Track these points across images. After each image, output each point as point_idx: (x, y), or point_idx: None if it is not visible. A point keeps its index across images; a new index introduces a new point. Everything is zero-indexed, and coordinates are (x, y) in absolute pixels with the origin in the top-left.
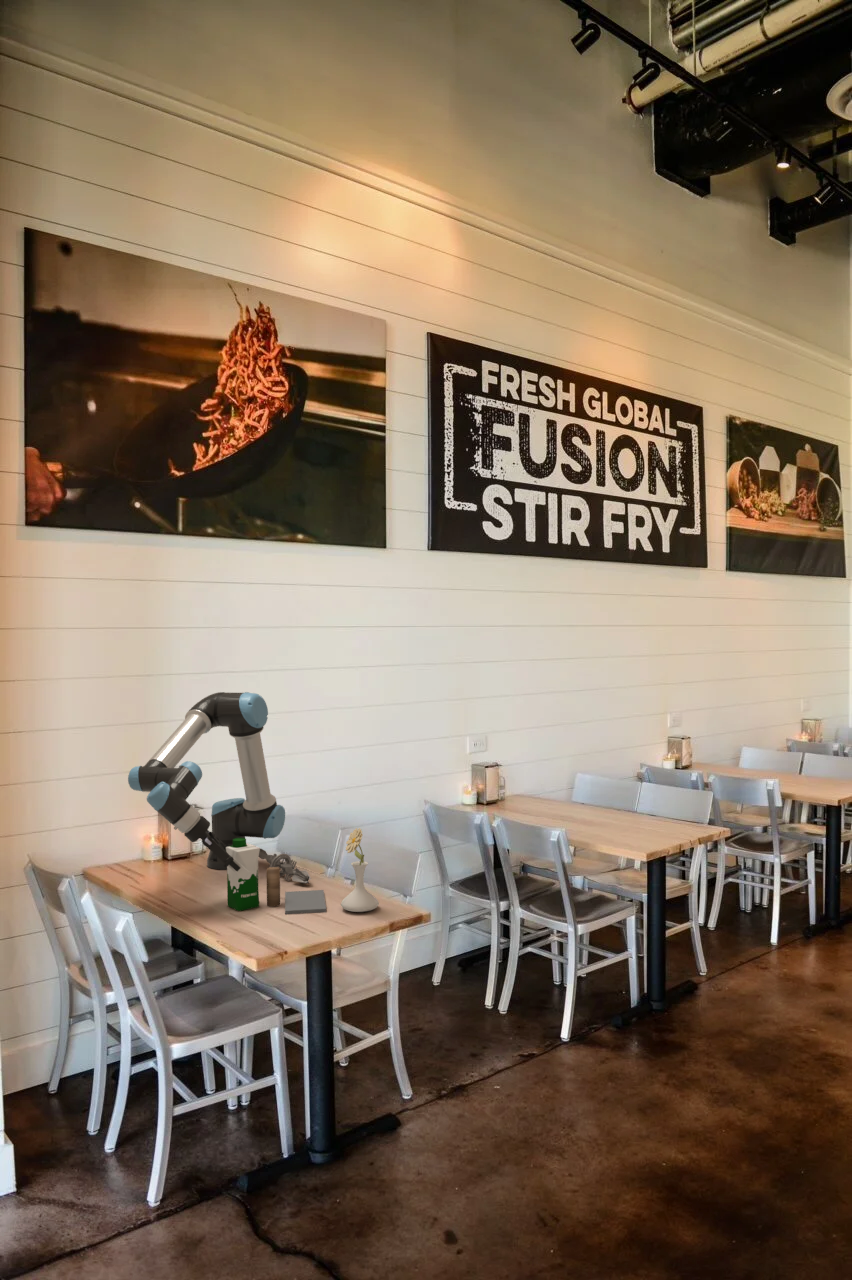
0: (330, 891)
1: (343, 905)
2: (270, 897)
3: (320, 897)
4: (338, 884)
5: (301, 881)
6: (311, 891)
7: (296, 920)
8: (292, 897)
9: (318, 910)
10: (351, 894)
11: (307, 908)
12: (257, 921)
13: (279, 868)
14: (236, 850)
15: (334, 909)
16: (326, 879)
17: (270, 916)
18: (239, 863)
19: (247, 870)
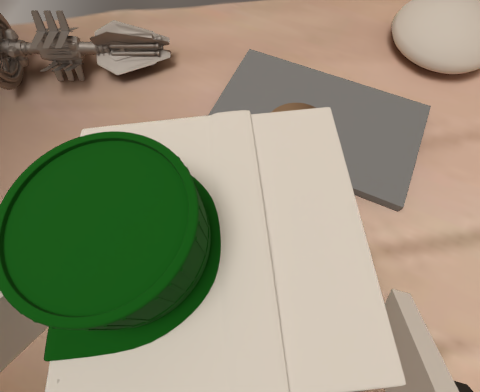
0: (246, 40)
1: (461, 67)
2: None
3: (315, 78)
4: (201, 8)
5: (150, 61)
6: (245, 75)
7: (476, 208)
8: None
9: (424, 125)
10: (470, 23)
11: (406, 144)
12: (440, 324)
13: (309, 106)
14: (321, 367)
15: (408, 88)
16: (141, 11)
17: (399, 260)
18: (457, 390)
19: (408, 307)
